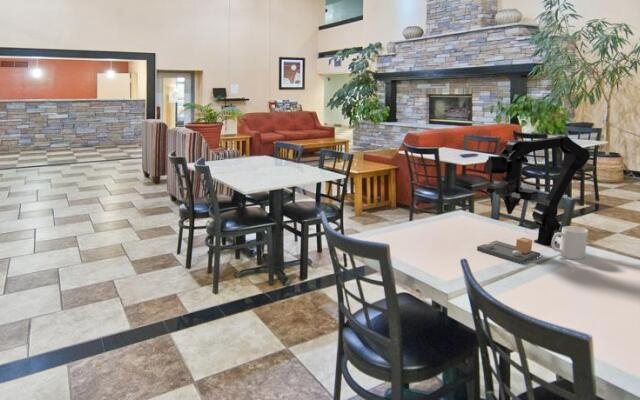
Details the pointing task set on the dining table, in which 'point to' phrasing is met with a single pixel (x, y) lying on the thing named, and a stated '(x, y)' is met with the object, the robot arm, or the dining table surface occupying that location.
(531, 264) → the dining table surface
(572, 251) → the cup
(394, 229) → the dining table surface
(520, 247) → the orange cube
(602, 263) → the dining table surface
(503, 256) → the board
